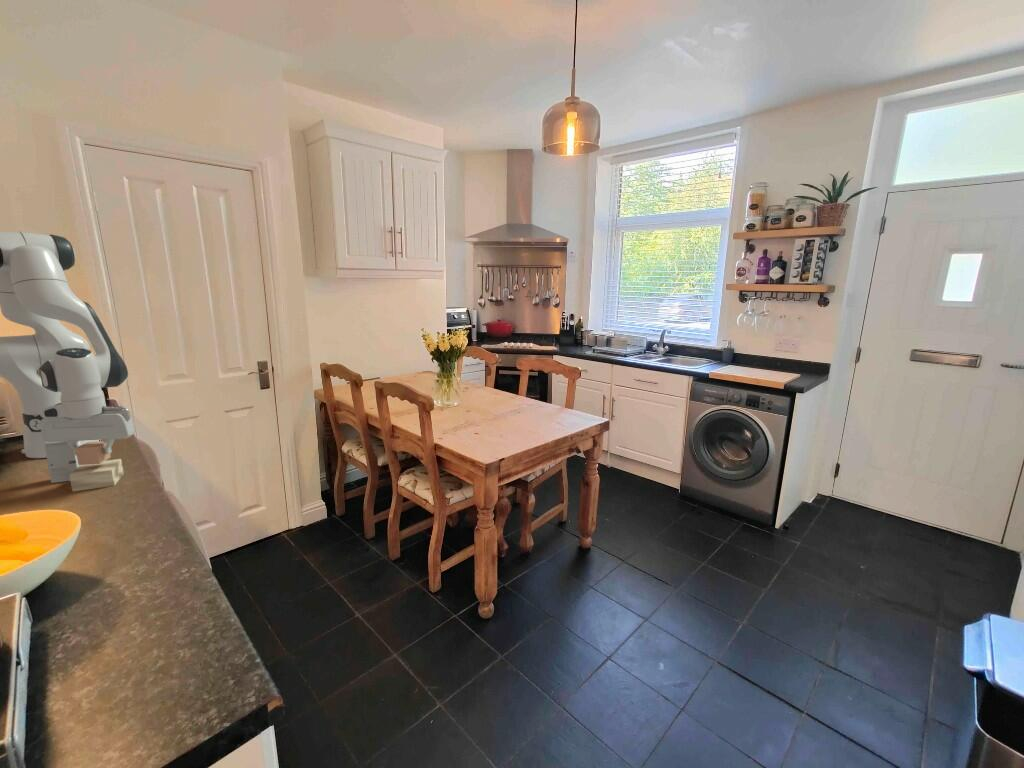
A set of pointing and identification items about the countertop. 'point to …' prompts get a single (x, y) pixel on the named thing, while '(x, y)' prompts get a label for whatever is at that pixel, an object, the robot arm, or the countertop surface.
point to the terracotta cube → (91, 453)
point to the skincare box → (60, 460)
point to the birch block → (96, 475)
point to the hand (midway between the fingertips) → (93, 454)
